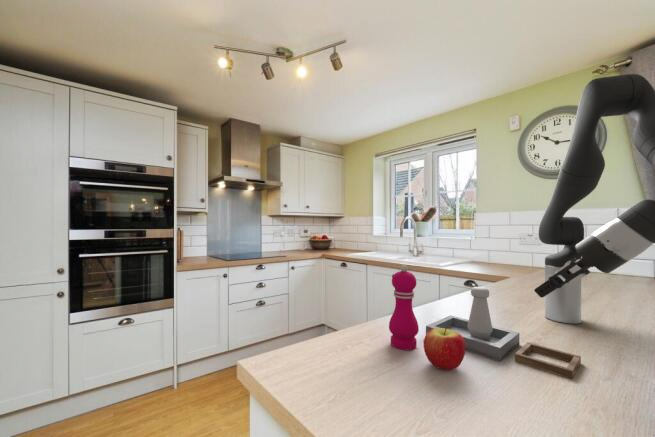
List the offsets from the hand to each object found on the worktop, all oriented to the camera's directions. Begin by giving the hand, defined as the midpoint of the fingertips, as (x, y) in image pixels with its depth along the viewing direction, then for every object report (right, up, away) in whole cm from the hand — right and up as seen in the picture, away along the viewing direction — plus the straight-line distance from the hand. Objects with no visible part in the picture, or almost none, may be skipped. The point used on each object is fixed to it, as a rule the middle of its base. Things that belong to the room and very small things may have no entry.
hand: (542, 290), depth 68 cm
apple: (-25, -15, -6) cm, 30 cm away
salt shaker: (-10, -15, +9) cm, 20 cm away
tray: (-13, -15, +8) cm, 21 cm away
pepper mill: (-31, -15, +5) cm, 35 cm away
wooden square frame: (-1, -15, -3) cm, 15 cm away
